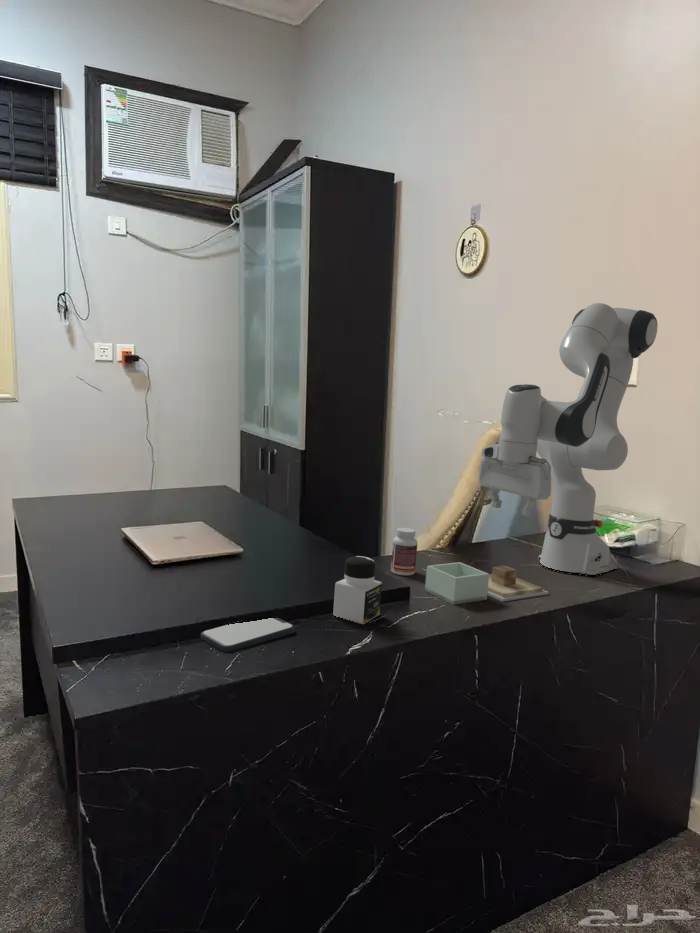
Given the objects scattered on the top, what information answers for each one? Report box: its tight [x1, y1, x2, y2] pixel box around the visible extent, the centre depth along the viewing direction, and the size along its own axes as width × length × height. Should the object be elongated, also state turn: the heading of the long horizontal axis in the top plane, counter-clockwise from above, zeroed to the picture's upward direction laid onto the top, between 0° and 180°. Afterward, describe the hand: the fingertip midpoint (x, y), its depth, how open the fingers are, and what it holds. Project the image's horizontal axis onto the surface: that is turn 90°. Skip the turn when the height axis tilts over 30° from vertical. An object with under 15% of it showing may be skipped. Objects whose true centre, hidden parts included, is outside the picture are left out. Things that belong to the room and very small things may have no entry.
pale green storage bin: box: [424, 561, 489, 606], centre depth 155 cm, size 10×10×6 cm
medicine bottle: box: [332, 555, 383, 625], centre depth 137 cm, size 7×7×12 cm
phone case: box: [200, 617, 295, 653], centre depth 124 cm, size 9×2×16 cm
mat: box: [487, 589, 549, 603], centre depth 163 cm, size 15×15×1 cm
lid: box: [488, 565, 544, 597], centre depth 163 cm, size 13×13×4 cm
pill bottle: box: [390, 527, 418, 576], centre depth 170 cm, size 6×6×11 cm
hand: (510, 511), depth 161 cm, fingers open, 8 cm apart
